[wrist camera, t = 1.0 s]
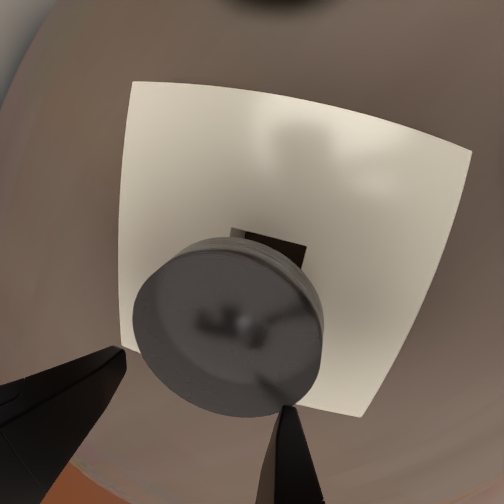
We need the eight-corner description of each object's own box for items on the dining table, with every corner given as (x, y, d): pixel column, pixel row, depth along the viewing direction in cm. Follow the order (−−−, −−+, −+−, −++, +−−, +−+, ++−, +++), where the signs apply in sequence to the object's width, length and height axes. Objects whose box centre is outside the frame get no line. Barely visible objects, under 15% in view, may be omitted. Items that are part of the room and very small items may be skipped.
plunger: (344, 231, 15) (350, 291, 9) (306, 350, 17) (291, 434, 12) (200, 196, 16) (132, 233, 10) (187, 315, 18) (135, 382, 13)
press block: (446, 147, 16) (472, 151, 12) (360, 380, 23) (361, 417, 19) (166, 87, 19) (132, 81, 15) (146, 318, 26) (121, 345, 22)
